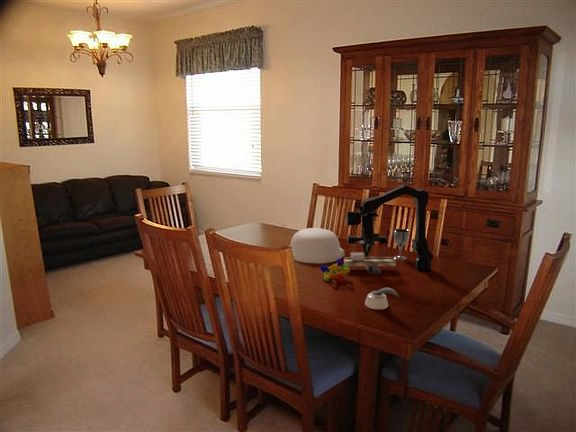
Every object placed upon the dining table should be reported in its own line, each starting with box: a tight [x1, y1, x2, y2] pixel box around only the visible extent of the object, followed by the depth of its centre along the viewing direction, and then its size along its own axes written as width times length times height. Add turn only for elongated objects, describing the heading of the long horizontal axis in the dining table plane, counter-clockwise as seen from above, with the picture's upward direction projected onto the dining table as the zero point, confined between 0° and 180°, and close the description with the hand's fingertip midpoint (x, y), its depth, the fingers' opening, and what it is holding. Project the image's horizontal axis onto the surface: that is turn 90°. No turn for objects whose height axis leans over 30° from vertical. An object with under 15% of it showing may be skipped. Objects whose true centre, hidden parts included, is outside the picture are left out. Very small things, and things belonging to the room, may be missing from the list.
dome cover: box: [289, 227, 345, 264], centre depth 246 cm, size 32×30×14 cm
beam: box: [343, 256, 397, 267], centre depth 222 cm, size 24×7×3 cm, turn 90°
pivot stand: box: [364, 255, 382, 275], centre depth 222 cm, size 6×11×6 cm, turn 0°
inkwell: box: [364, 287, 400, 310], centre depth 176 cm, size 9×18×10 cm, turn 29°
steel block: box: [349, 251, 365, 261], centre depth 222 cm, size 6×4×4 cm
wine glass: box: [393, 228, 410, 261], centre depth 241 cm, size 8×8×15 cm
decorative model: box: [319, 258, 351, 284], centre depth 209 cm, size 13×9×15 cm
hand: (366, 256), depth 222 cm, fingers closed
